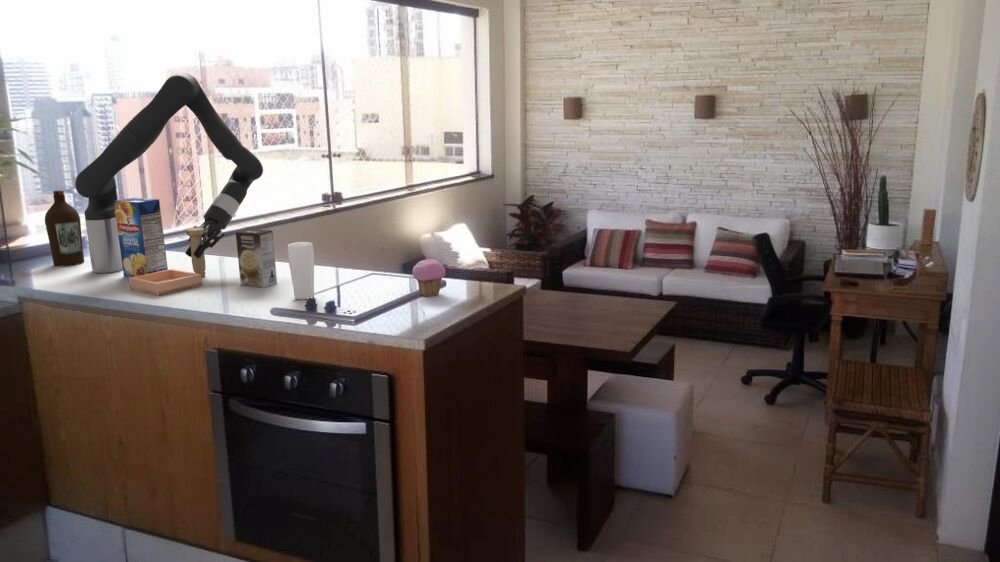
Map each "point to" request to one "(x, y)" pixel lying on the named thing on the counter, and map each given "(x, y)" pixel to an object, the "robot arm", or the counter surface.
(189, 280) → the tray
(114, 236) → the robot arm
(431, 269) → the cupcake
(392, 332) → the counter surface
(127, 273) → the juice carton
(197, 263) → the handle
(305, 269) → the drinking glass
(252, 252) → the coffee box
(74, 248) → the olive oil
